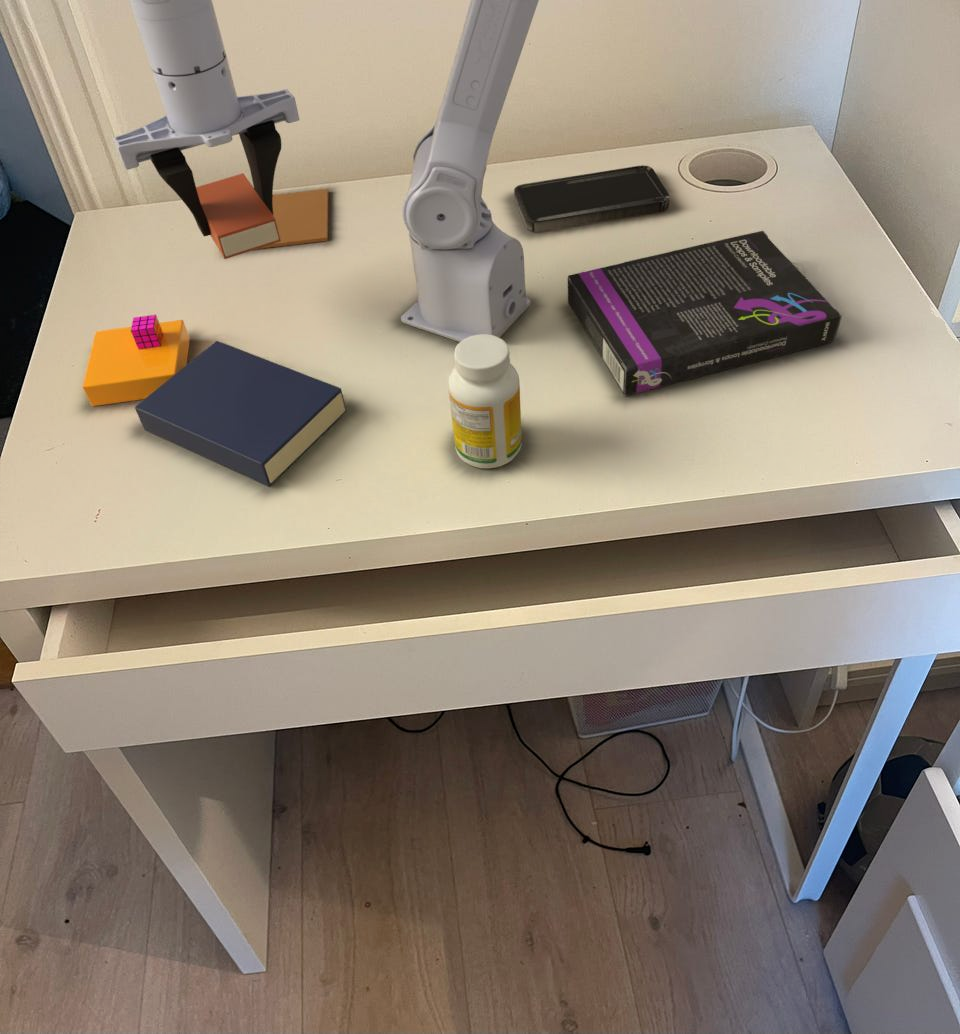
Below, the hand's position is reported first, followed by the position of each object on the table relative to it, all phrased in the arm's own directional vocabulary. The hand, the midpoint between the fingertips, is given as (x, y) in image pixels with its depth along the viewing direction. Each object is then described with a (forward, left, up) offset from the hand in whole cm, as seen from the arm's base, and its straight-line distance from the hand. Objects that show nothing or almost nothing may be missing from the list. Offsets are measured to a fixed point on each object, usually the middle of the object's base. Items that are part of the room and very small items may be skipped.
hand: (235, 220), depth 82 cm
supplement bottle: (-28, +5, -10) cm, 31 cm away
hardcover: (-8, +12, -10) cm, 18 cm away
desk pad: (+10, -14, -10) cm, 20 cm away
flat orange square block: (+4, +11, -10) cm, 16 cm away
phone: (-18, -31, -10) cm, 37 cm away
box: (-36, -17, -10) cm, 41 cm away
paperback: (0, 0, 0) cm, 0 cm away
